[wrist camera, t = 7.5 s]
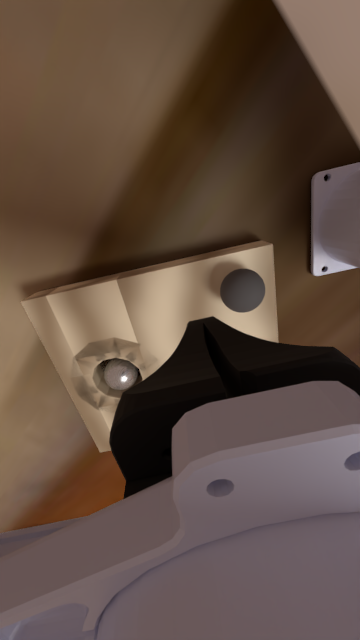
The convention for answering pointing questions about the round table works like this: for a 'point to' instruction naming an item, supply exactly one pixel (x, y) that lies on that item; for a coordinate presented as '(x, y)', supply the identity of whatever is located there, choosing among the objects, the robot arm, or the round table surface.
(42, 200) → the round table surface
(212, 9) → the round table surface
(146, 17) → the round table surface
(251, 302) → the black rubber ball
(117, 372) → the steel ball
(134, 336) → the plate
